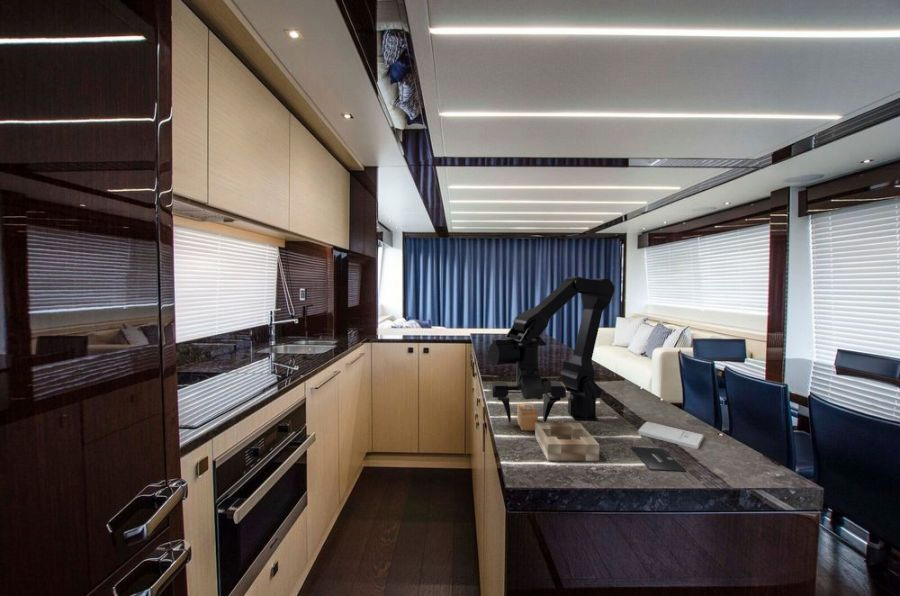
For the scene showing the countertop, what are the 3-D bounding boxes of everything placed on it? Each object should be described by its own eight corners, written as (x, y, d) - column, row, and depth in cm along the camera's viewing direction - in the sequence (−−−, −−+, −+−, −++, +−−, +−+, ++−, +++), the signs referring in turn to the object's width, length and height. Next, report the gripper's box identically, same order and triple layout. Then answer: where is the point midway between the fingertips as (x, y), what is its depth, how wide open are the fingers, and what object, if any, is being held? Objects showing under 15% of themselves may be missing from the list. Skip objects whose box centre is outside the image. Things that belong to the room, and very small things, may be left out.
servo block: (530, 419, 100) (531, 398, 100) (538, 433, 91) (538, 410, 90) (516, 419, 100) (516, 398, 100) (522, 433, 91) (522, 410, 90)
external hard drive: (646, 426, 96) (703, 440, 87) (637, 436, 90) (697, 451, 81) (647, 420, 96) (703, 433, 87) (638, 429, 90) (697, 444, 81)
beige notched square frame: (579, 436, 88) (579, 422, 88) (599, 460, 76) (599, 444, 76) (535, 436, 88) (535, 422, 88) (547, 460, 76) (547, 444, 76)
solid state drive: (662, 451, 81) (662, 448, 81) (687, 474, 72) (687, 470, 71) (630, 449, 82) (630, 446, 82) (650, 472, 72) (650, 469, 72)
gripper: (495, 369, 87) (494, 434, 87) (573, 370, 86) (572, 434, 87) (490, 360, 98) (490, 417, 98) (559, 360, 97) (559, 417, 98)
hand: (527, 421), depth 95 cm, fingers open, 9 cm apart
